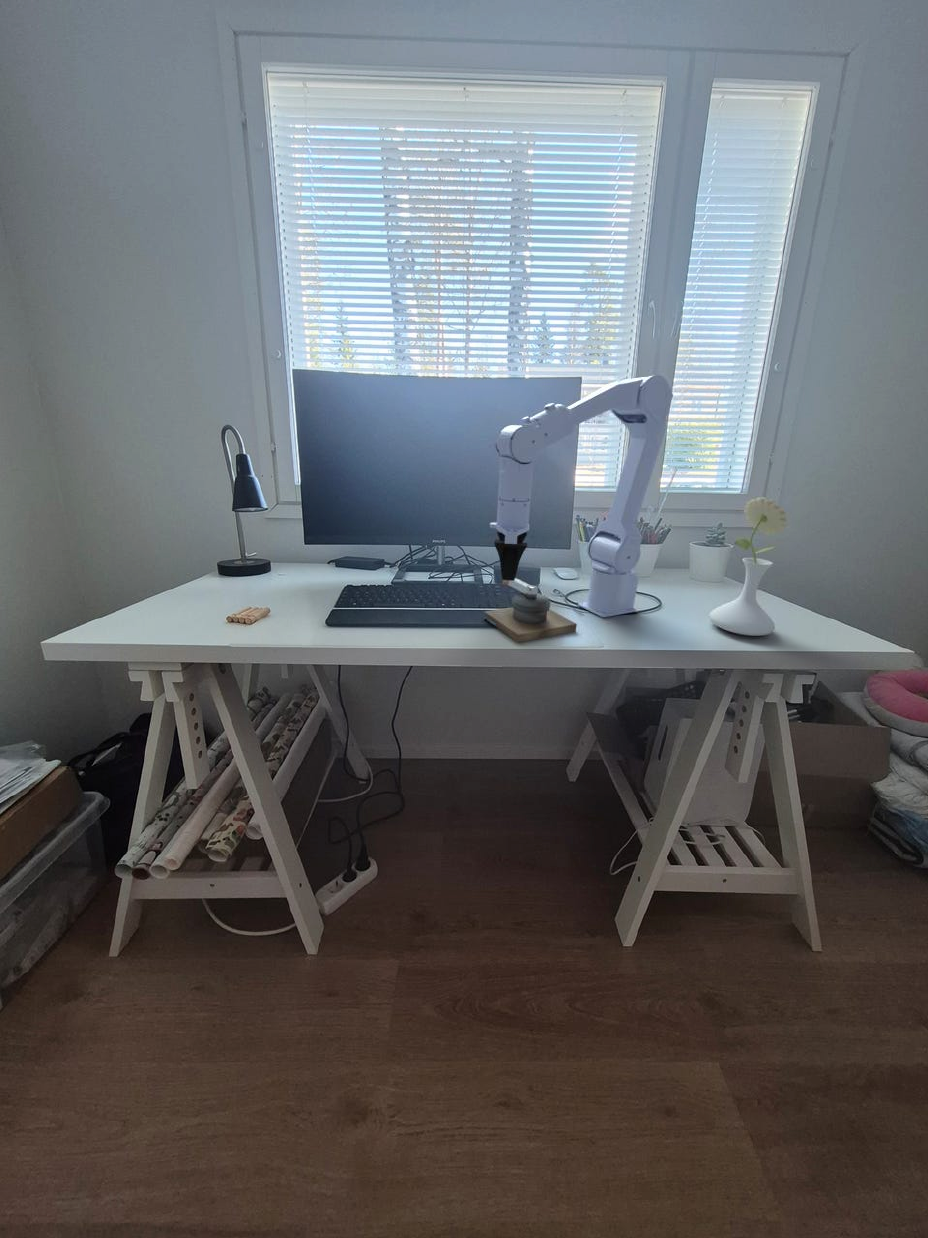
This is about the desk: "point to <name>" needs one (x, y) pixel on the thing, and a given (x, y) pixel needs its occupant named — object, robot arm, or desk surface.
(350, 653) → the desk surface
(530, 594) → the hammer
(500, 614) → the wooden base with cylinder
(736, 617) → the flower in vase
